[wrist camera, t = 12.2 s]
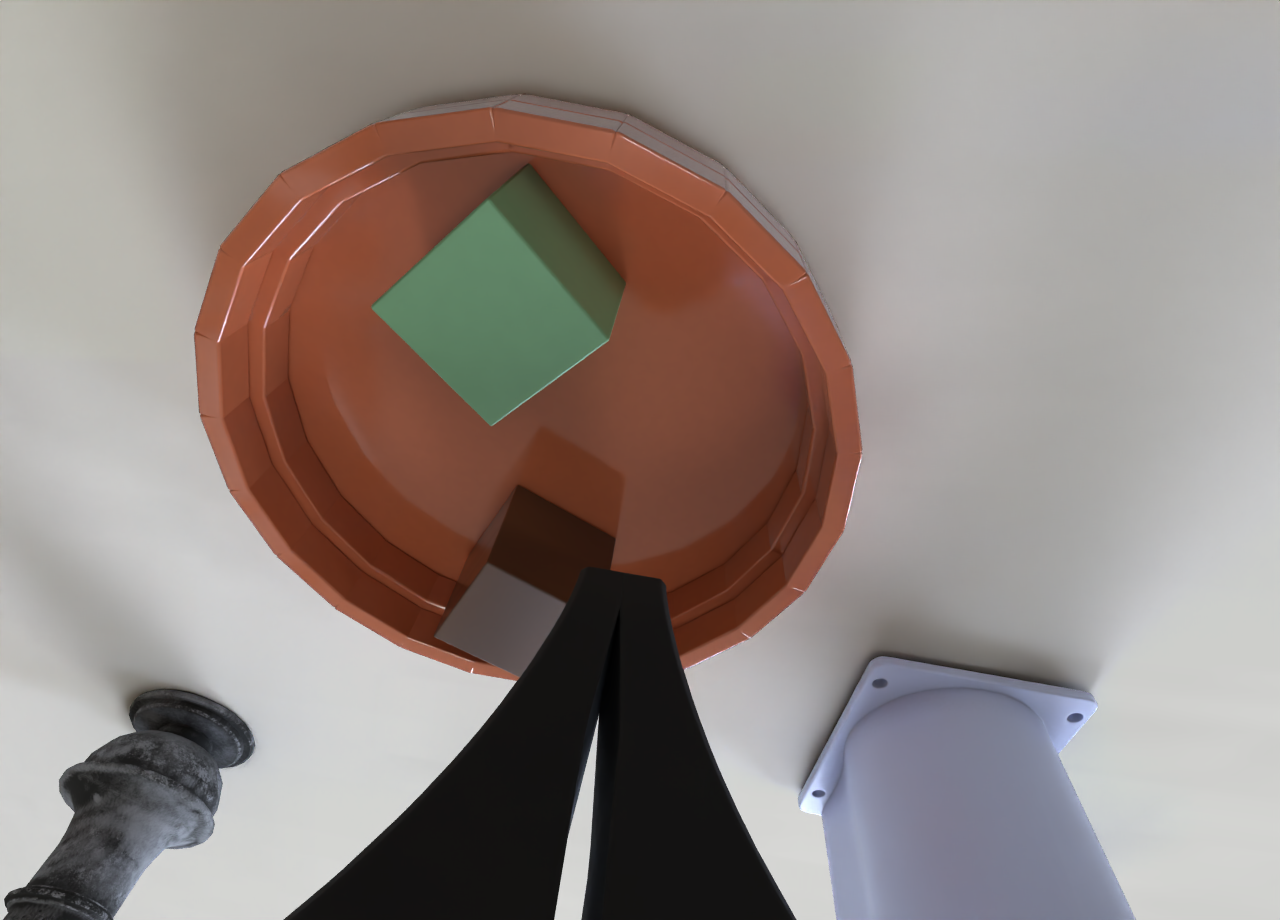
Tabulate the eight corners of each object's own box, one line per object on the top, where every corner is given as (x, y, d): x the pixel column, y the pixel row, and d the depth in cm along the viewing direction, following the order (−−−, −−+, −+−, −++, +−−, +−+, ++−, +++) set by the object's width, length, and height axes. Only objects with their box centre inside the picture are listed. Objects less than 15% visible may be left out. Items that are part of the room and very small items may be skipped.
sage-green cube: (627, 282, 17) (610, 340, 14) (525, 360, 18) (490, 428, 15) (529, 161, 15) (487, 197, 12) (427, 255, 17) (369, 307, 14)
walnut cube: (616, 537, 21) (602, 621, 18) (561, 602, 23) (540, 688, 20) (517, 483, 20) (486, 562, 18) (468, 554, 22) (432, 637, 19)
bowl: (756, 650, 24) (761, 724, 22) (297, 570, 24) (249, 635, 21) (940, 169, 15) (985, 201, 13) (209, 29, 15) (110, 33, 12)
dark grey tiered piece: (260, 781, 32) (55, 1136, 22) (130, 748, 31) (-143, 1098, 21) (262, 708, 29) (23, 1084, 19) (117, 669, 28) (-213, 1038, 18)
